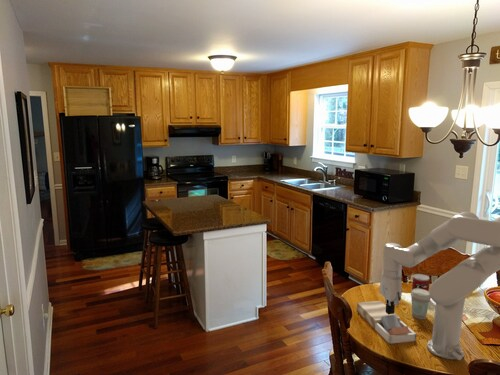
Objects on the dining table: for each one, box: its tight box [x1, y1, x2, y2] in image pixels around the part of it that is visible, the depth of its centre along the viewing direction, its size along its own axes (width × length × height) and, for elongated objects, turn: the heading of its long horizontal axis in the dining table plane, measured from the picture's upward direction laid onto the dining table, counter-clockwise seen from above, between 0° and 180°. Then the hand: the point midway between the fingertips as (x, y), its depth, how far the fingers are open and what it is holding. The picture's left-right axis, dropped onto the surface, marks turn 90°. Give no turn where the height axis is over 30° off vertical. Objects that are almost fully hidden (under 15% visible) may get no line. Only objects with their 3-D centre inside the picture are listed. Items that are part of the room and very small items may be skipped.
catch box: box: [374, 319, 417, 344], centre depth 159 cm, size 11×12×3 cm
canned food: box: [411, 273, 431, 292], centre depth 194 cm, size 8×8×11 cm
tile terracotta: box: [388, 325, 410, 335], centre depth 156 cm, size 6×6×2 cm
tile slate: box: [381, 315, 401, 332], centre depth 161 cm, size 6×6×2 cm
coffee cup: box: [410, 289, 432, 320], centre depth 174 cm, size 8×9×12 cm
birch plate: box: [356, 300, 401, 330], centre depth 173 cm, size 16×12×4 cm
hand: (389, 313), depth 163 cm, fingers closed
